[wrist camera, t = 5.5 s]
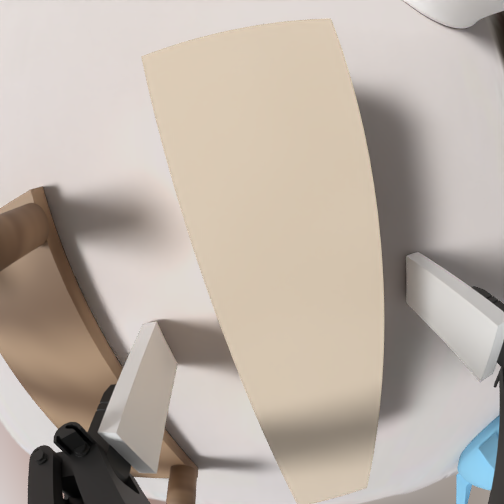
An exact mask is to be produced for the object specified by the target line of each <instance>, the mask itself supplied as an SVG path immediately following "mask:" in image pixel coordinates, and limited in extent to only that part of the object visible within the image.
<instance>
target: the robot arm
mask: <svg viewBox="0 0 504 504" xmlns="http://www.w3.org/2000/svg"><path fill="white" fill-rule="evenodd" d="M406 274H407V294H406V303H407V304H408V305H409V306H410V307H411V308H412V309H413V310H414V311H415V312H416V313H417V314H418V315H419V316H420V317H421V318H422V319H423V320H424V321H425V322H426V323H427V325H428V326H429V327H430V328H431V329H432V330H433V331H434V332H435V333H436V334H437V335H438V336H439V337H440V338H441V339H442V340H443V341H444V342H445V344H446V345H447V346H448V347H449V348H450V349H451V350H452V351H453V352H454V353H455V354H456V356H457V357H458V358H459V359H460V360H461V361H462V362H463V363H464V364H465V366H466V367H467V368H468V369H469V370H470V371H471V372H472V374H473V375H474V376H475V377H476V378H477V379H478V381H479V382H481V381H483V380H484V379H486V378H487V377H489V376H490V375H491V374H493V372H494V369H495V366H496V364H497V363H498V364H499V365H500V366H501V369H500V371H499V374H498V376H497V378H496V381H495V383H494V387H496V386H497V384H498V382H499V383H500V386H499V387H500V419H499V437H498V448H497V457H496V464H495V471H494V477H493V483H492V488H491V493H490V497H489V502H488V504H504V304H503V303H502V302H500V301H498V300H497V299H496V298H495V297H492V295H491V294H489V293H488V292H486V291H485V290H483V289H480V288H478V287H475V286H473V287H470V286H468V285H467V284H466V283H464V282H463V281H461V280H460V279H458V278H457V277H456V276H454V275H453V274H451V273H450V272H448V271H447V270H445V269H444V268H442V267H441V266H439V265H438V264H436V263H435V262H433V261H432V260H430V259H429V258H427V257H426V256H424V255H422V254H421V253H419V252H416V253H413V254H410V255H407V256H406ZM177 365H178V364H177V362H176V360H175V358H174V356H173V354H172V352H171V350H170V348H169V346H168V344H167V342H166V340H165V338H164V336H163V334H162V332H161V330H160V327H159V325H158V323H157V321H155V322H151V323H146V324H143V325H142V327H141V329H140V331H139V333H138V336H137V338H136V340H135V342H134V344H133V347H132V349H131V351H130V353H129V356H128V358H127V360H126V363H125V365H124V367H123V370H122V372H121V374H120V377H119V379H118V381H117V384H112V385H110V386H109V387H108V389H107V390H106V391H105V392H104V393H103V396H102V398H101V400H100V404H99V405H98V407H97V411H96V412H95V415H94V417H93V420H92V422H91V424H90V427H89V430H88V432H86V430H85V429H84V428H83V427H82V426H81V425H80V424H79V423H77V422H69V423H66V424H64V425H62V426H61V427H60V428H59V429H58V430H57V431H56V433H55V436H54V443H55V444H56V445H57V446H58V447H59V448H60V449H61V450H62V451H63V452H58V453H56V452H54V451H53V450H52V449H51V448H50V447H49V446H46V445H44V446H40V447H38V448H36V449H35V450H34V451H33V453H32V454H31V457H30V462H29V476H28V504H150V502H149V501H148V499H147V498H146V496H145V495H144V493H143V491H142V490H141V488H140V487H139V485H138V483H137V482H136V480H135V478H134V477H133V476H132V475H131V474H130V469H131V466H132V467H133V468H134V469H135V470H136V471H138V472H139V473H153V474H157V470H158V463H159V457H160V452H161V446H162V440H163V435H164V429H165V424H166V419H167V413H168V408H169V403H170V398H171V393H172V389H173V384H174V379H175V374H176V370H177ZM62 492H63V493H64V496H65V497H64V499H63V495H62Z"/></svg>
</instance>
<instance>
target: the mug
mask: <svg viewBox="0 0 504 504" xmlns="http://www.w3.org/2000/svg"><path fill="white" fill-rule="evenodd" d="M404 1H405V2H406V3H407V4H409V5H410V6H411V7H413V8H414V9H416V10H417V11H419V12H420V13H422V14H423V15H425V16H427V17H429V18H430V19H432V20H434V21H436V22H438V23H441V24H443V25H446V26H449V27H453V28H468V27H470V26H472V25H474V24H475V23H476V22H477V21H478V20H480V19H482V18H484V17H487V16H489V15H492V14H495V13H498V12H501V11H504V0H404Z"/></svg>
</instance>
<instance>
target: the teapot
mask: <svg viewBox="0 0 504 504" xmlns="http://www.w3.org/2000/svg"><path fill="white" fill-rule="evenodd" d="M499 419H500V415H499V416H498V417H497V418H496V419H495V420H493V421H492V422H491V423H490V424H489V425H488V426H487V427H486V428H485V429H484V430H482V431H481V432H480V433H479V434H478V435H477V436H476V437H475V438H474V439H473V440H472V441H471V442H470V444H469V445H468V446H467V447H466V448H465V449H464V451H463V452H462V454H461V456H460V459H459V463H458V472H459V473H458V474H457V494H456V504H467V503H468V499H469V495H470V491H471V486H472V485H474V486H477V487H480V488H483V489H487V490H491V488H492V483H493V477H494V471H495V464H496V457H497V448H498V437H499Z"/></svg>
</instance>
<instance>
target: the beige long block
mask: <svg viewBox="0 0 504 504" xmlns="http://www.w3.org/2000/svg"><path fill="white" fill-rule="evenodd" d="M142 62H143V67H144V71H145V76H146V80H147V85H148V89H149V93H150V97H151V102H152V106H153V110H154V114H155V118H156V122H157V126H158V130H159V133H160V137H161V141H162V145H163V148H164V152H165V156H166V159H167V163H168V167H169V170H170V174H171V177H172V181H173V184H174V188H175V191H176V194H177V198H178V201H179V204H180V208H181V211H182V214H183V217H184V221H185V224H186V227H187V230H188V233H189V237H190V240H191V243H192V246H193V249H194V252H195V255H196V258H197V261H198V264H199V267H200V270H201V273H202V276H203V279H204V282H205V285H206V287H207V290H208V293H209V296H210V299H211V302H212V304H213V307H214V310H215V313H216V316H217V318H218V321H219V324H220V326H221V329H222V332H223V334H224V337H225V340H226V342H227V345H228V348H229V350H230V353H231V355H232V358H233V361H234V363H235V366H236V368H237V371H238V373H239V376H240V378H241V381H242V383H243V386H244V388H245V390H246V393H247V395H248V398H249V400H250V403H251V405H252V407H253V410H254V412H255V414H256V417H257V419H258V421H259V424H260V426H261V428H262V430H263V433H264V435H265V437H266V439H267V442H268V444H269V446H270V448H271V451H272V453H273V455H274V457H275V459H276V461H277V464H278V466H279V468H280V470H281V472H282V474H283V476H284V478H285V480H286V482H287V485H288V487H289V489H290V491H291V493H292V495H293V497H294V499H295V501H296V503H297V504H313V503H317V502H321V501H325V500H329V499H333V498H336V497H340V496H343V495H346V494H350V493H353V492H356V491H359V490H362V489H365V488H367V485H368V480H369V475H370V470H371V465H372V459H373V454H374V448H375V441H376V434H377V427H378V419H379V410H380V400H381V389H382V375H383V356H384V285H383V265H382V251H381V239H380V229H379V220H378V211H377V203H376V196H375V189H374V182H373V176H372V170H371V164H370V158H369V153H368V148H367V143H366V138H365V133H364V129H363V124H362V120H361V115H360V111H359V107H358V103H357V99H356V95H355V92H354V88H353V84H352V81H351V77H350V74H349V70H348V67H347V64H346V61H345V58H344V54H343V51H342V48H341V45H340V42H339V39H338V37H337V34H336V31H335V28H334V26H333V23H332V20H331V19H310V20H297V21H286V22H277V23H270V24H263V25H256V26H250V27H245V28H239V29H234V30H229V31H225V32H220V33H216V34H212V35H208V36H204V37H200V38H196V39H193V40H189V41H186V42H182V43H179V44H176V45H173V46H170V47H167V48H164V49H161V50H158V51H155V52H152V53H150V54H147V55H144V56H142Z"/></svg>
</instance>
